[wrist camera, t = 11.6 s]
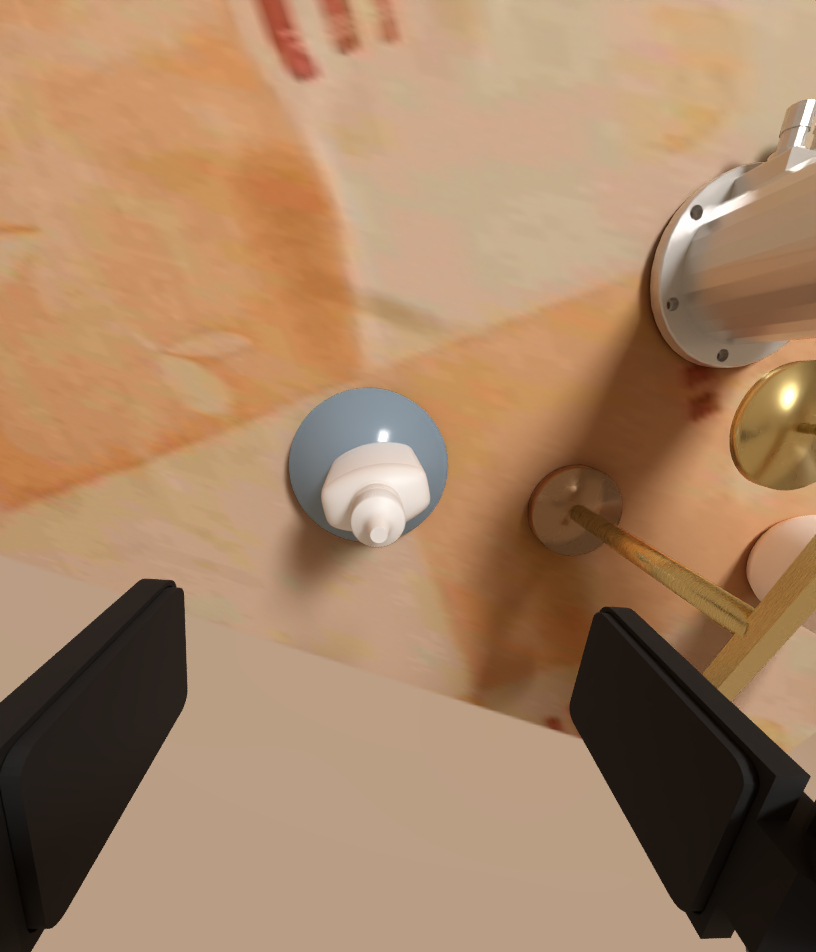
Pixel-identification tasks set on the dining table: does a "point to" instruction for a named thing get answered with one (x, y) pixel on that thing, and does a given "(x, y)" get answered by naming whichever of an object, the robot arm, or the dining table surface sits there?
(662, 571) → the balance
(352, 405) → the grey flat round piece
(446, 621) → the dining table surface
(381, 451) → the eye dropper bottle
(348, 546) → the dining table surface
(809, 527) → the alcohol
